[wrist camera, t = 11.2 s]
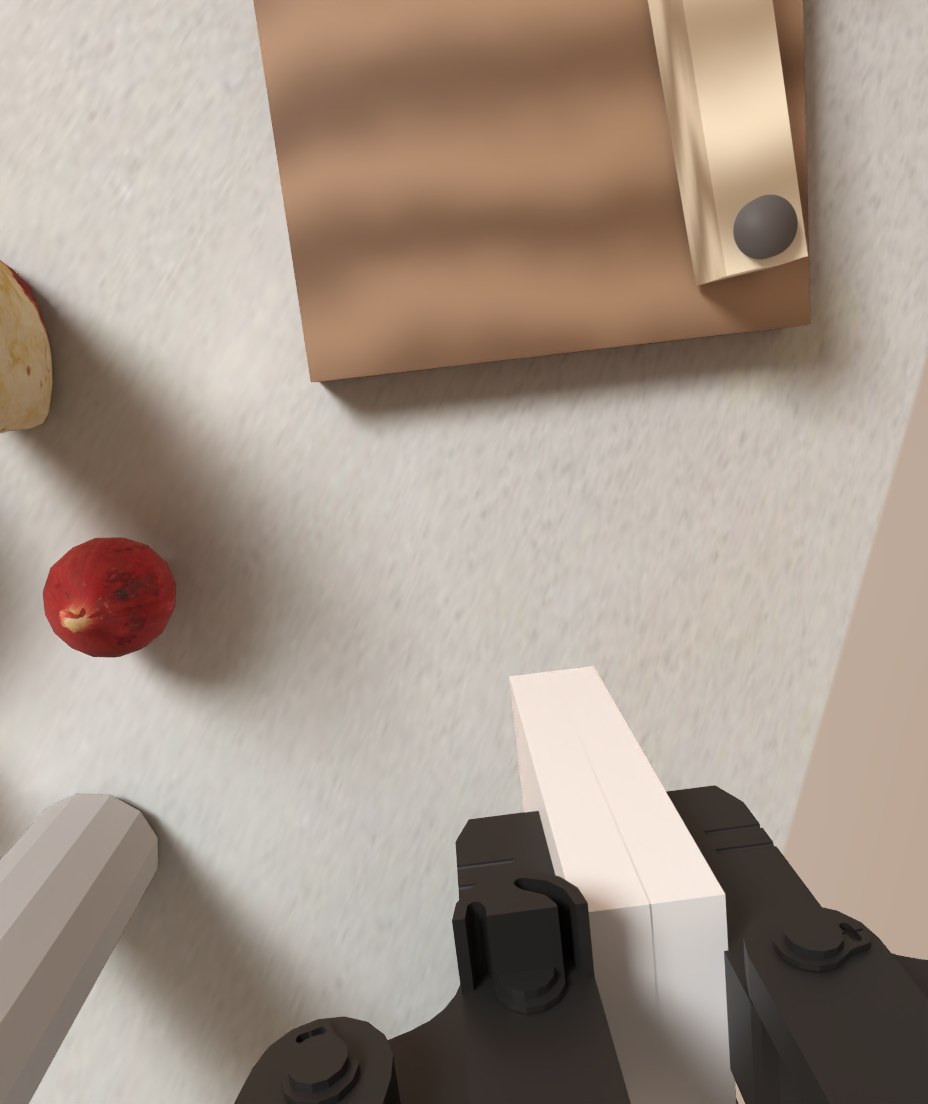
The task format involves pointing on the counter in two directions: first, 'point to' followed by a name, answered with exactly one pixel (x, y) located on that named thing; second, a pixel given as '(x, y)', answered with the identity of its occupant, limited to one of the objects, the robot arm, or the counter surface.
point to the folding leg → (729, 134)
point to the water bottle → (63, 923)
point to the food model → (22, 356)
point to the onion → (109, 597)
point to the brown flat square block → (495, 183)
